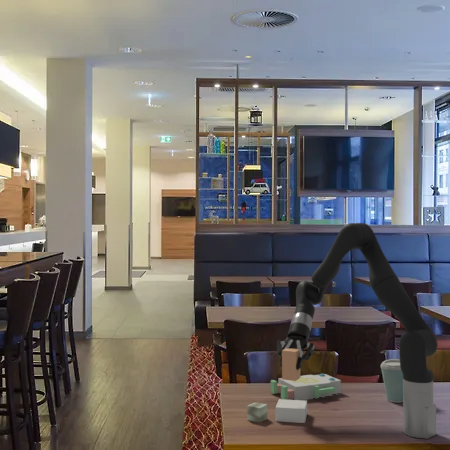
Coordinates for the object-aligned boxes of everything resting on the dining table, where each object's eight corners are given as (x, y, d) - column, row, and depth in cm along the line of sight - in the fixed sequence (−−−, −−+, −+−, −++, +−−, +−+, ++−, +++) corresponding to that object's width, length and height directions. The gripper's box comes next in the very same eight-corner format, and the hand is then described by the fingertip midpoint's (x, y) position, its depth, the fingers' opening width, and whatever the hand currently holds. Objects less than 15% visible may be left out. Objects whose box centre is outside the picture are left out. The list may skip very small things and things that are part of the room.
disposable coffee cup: (399, 406, 214) (399, 365, 214) (375, 400, 222) (374, 361, 222) (415, 400, 221) (414, 361, 221) (390, 395, 229) (390, 357, 229)
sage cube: (267, 419, 200) (267, 404, 200) (259, 422, 196) (259, 408, 196) (255, 416, 203) (255, 402, 203) (247, 420, 199) (247, 405, 199)
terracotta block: (300, 377, 203) (300, 349, 203) (295, 381, 198) (295, 351, 198) (286, 376, 205) (286, 347, 205) (282, 379, 200) (282, 350, 201)
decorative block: (319, 370, 245) (347, 381, 227) (319, 385, 245) (347, 397, 227) (265, 376, 235) (289, 388, 217) (265, 391, 235) (289, 405, 217)
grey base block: (307, 414, 205) (307, 400, 205) (304, 423, 195) (304, 409, 195) (279, 413, 207) (279, 399, 207) (275, 421, 198) (275, 407, 198)
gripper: (279, 320, 212) (267, 359, 201) (317, 322, 205) (307, 363, 194) (284, 332, 216) (272, 371, 205) (321, 335, 210) (311, 376, 199)
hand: (289, 367), depth 200 cm, fingers closed on terracotta block, 5 cm apart
